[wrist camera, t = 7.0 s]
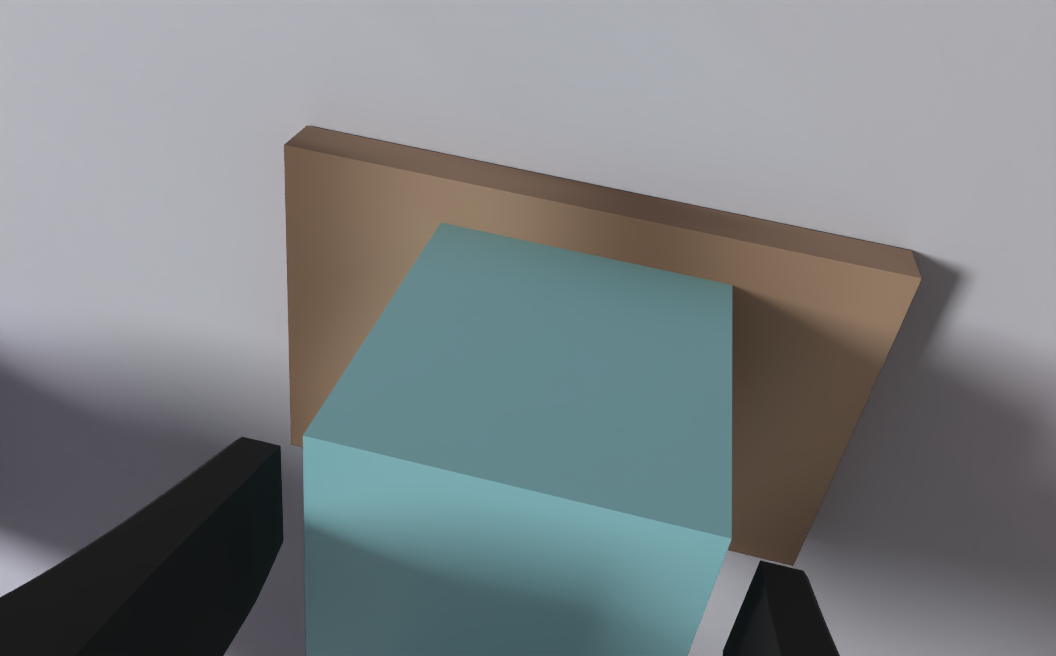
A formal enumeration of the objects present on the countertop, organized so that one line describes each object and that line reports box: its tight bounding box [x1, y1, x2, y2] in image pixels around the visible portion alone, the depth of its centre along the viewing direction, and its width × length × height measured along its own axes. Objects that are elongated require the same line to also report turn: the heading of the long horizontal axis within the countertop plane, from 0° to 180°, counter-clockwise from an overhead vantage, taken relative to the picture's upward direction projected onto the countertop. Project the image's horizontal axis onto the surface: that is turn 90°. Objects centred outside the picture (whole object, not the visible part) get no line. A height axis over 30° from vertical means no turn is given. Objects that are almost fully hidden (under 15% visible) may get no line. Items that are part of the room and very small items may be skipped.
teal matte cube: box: [303, 223, 732, 656], centre depth 14 cm, size 5×5×6 cm
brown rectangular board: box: [284, 126, 922, 566], centre depth 15 cm, size 11×7×5 cm, turn 82°
